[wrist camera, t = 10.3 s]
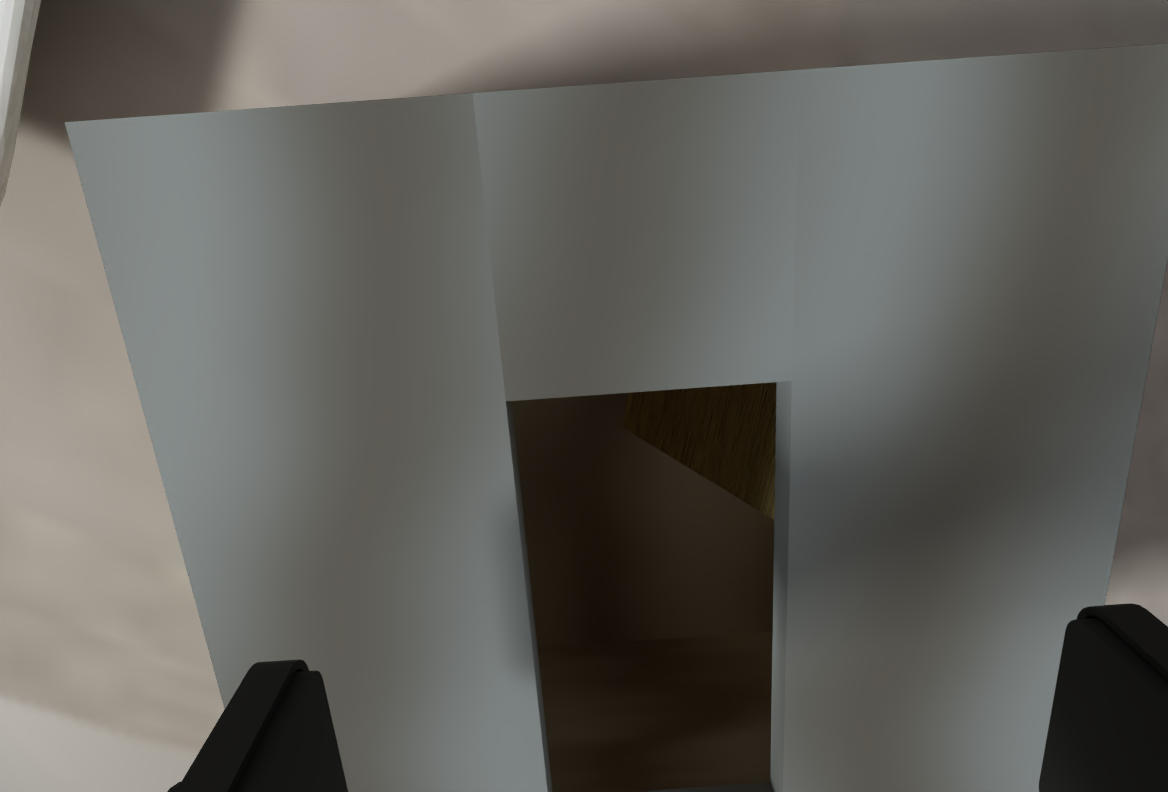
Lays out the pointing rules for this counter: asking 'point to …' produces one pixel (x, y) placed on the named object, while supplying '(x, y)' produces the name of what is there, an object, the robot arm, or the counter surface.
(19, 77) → the tray
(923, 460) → the box
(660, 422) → the block
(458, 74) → the counter surface
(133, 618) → the counter surface
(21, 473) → the counter surface
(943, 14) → the counter surface
